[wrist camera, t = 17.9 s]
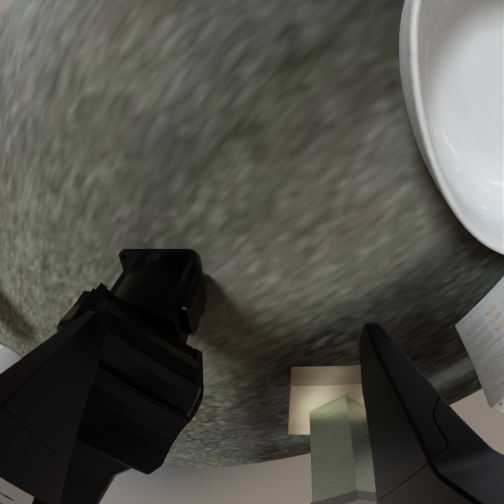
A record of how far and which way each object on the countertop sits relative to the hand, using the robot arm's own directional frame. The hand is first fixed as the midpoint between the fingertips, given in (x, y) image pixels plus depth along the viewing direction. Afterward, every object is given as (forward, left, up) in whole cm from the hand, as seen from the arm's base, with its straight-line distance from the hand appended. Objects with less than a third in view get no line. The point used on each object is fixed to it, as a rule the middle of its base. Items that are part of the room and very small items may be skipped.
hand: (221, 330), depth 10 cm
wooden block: (+9, -25, -14) cm, 30 cm away
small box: (+24, -12, -13) cm, 30 cm away
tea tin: (+9, -25, -11) cm, 28 cm away
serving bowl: (+18, +9, -13) cm, 24 cm away
